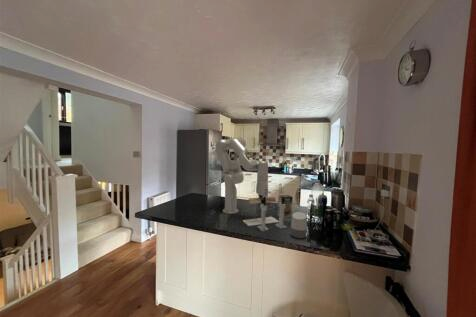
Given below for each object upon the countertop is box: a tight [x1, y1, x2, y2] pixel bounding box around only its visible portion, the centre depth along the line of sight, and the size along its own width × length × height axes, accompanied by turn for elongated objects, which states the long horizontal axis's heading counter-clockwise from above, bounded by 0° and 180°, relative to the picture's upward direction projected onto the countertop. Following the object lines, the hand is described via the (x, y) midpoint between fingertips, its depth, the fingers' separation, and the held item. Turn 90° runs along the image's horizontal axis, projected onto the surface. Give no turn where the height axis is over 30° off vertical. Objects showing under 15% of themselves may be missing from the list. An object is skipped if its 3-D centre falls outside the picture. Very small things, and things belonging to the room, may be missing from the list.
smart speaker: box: [290, 211, 308, 240], centre depth 125 cm, size 10×9×14 cm
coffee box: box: [277, 194, 294, 219], centre depth 160 cm, size 9×6×16 cm
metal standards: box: [256, 202, 288, 232], centre depth 138 cm, size 6×19×16 cm, turn 112°
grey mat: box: [242, 216, 279, 227], centre depth 148 cm, size 10×24×1 cm, turn 112°
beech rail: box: [248, 196, 277, 205], centre depth 147 cm, size 3×20×3 cm, turn 112°
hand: (262, 204), depth 147 cm, fingers closed on beech rail, 3 cm apart
